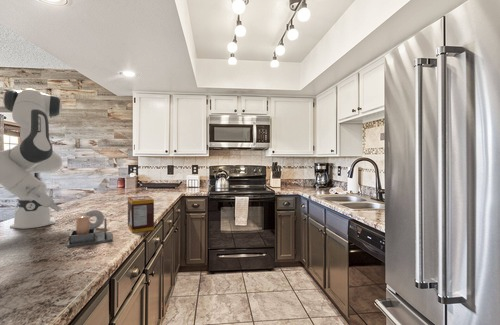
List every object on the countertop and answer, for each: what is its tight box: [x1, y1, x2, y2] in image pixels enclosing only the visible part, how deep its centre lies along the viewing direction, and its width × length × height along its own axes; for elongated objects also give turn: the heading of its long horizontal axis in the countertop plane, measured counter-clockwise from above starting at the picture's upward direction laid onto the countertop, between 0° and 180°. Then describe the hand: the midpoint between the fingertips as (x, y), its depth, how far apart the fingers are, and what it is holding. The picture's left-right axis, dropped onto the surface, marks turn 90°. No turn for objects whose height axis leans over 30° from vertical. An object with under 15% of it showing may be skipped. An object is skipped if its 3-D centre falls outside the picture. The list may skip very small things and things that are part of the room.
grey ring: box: [82, 209, 105, 229], centre depth 132 cm, size 10×3×10 cm, turn 130°
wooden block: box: [75, 215, 90, 235], centre depth 113 cm, size 5×5×10 cm
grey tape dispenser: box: [67, 217, 113, 248], centre depth 115 cm, size 13×16×8 cm
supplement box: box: [127, 195, 155, 234], centre depth 135 cm, size 10×15×16 cm
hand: (57, 208), depth 107 cm, fingers open, 8 cm apart
